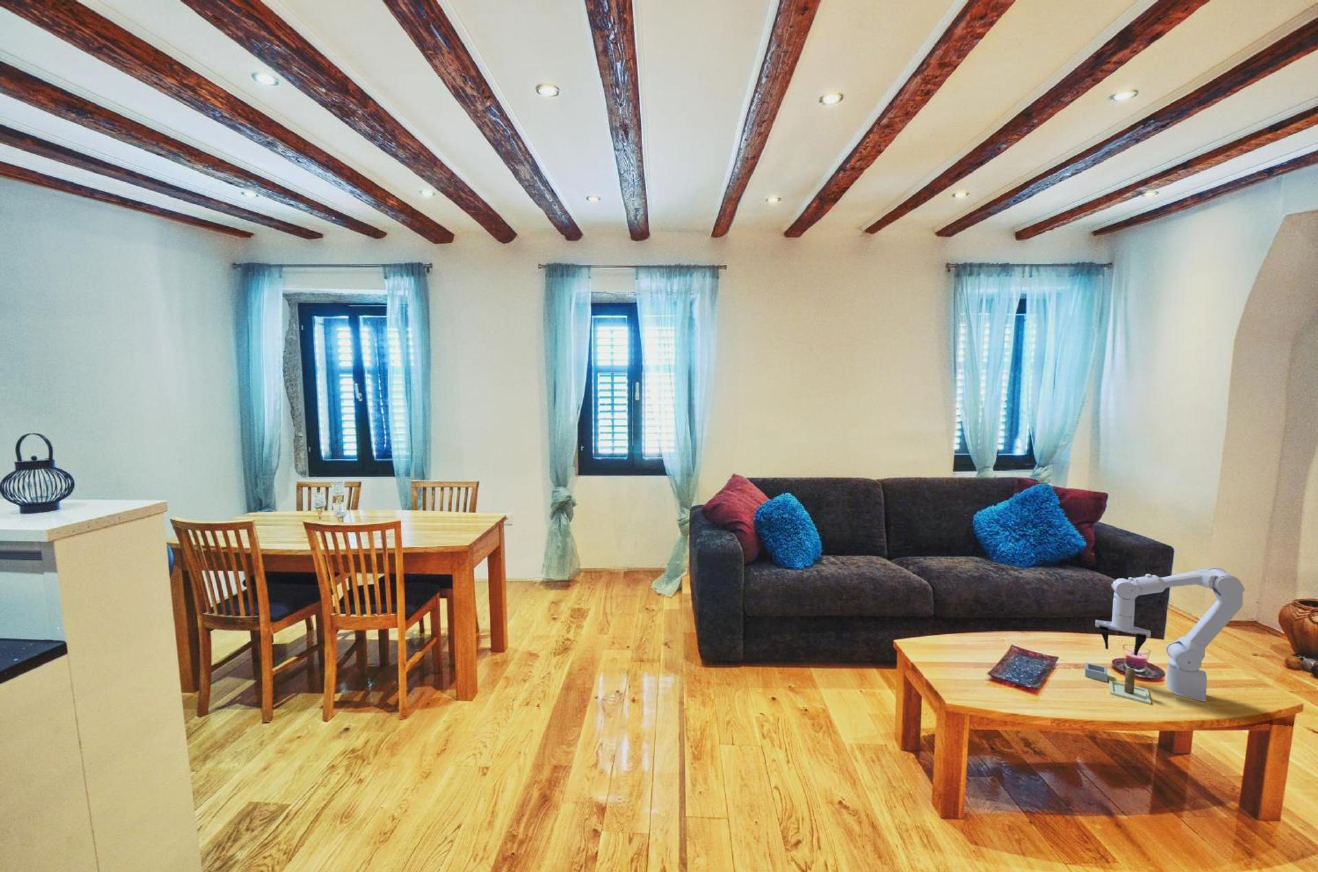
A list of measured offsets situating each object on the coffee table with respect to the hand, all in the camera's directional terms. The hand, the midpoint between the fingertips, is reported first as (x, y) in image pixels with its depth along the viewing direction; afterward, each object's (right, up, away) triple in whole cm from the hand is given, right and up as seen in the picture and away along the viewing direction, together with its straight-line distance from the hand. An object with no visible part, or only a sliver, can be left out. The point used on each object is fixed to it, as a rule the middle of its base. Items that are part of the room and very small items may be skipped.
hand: (1120, 651), depth 187 cm
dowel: (-5, -10, -8) cm, 14 cm away
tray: (-5, -11, -8) cm, 15 cm away
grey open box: (-7, -10, +2) cm, 13 cm away
